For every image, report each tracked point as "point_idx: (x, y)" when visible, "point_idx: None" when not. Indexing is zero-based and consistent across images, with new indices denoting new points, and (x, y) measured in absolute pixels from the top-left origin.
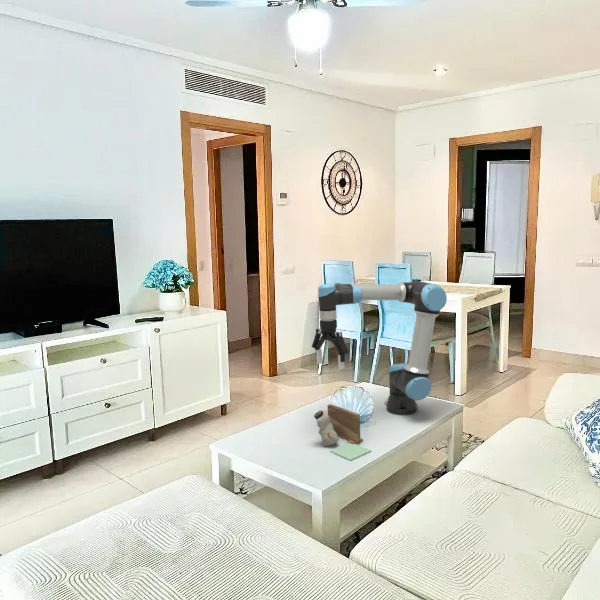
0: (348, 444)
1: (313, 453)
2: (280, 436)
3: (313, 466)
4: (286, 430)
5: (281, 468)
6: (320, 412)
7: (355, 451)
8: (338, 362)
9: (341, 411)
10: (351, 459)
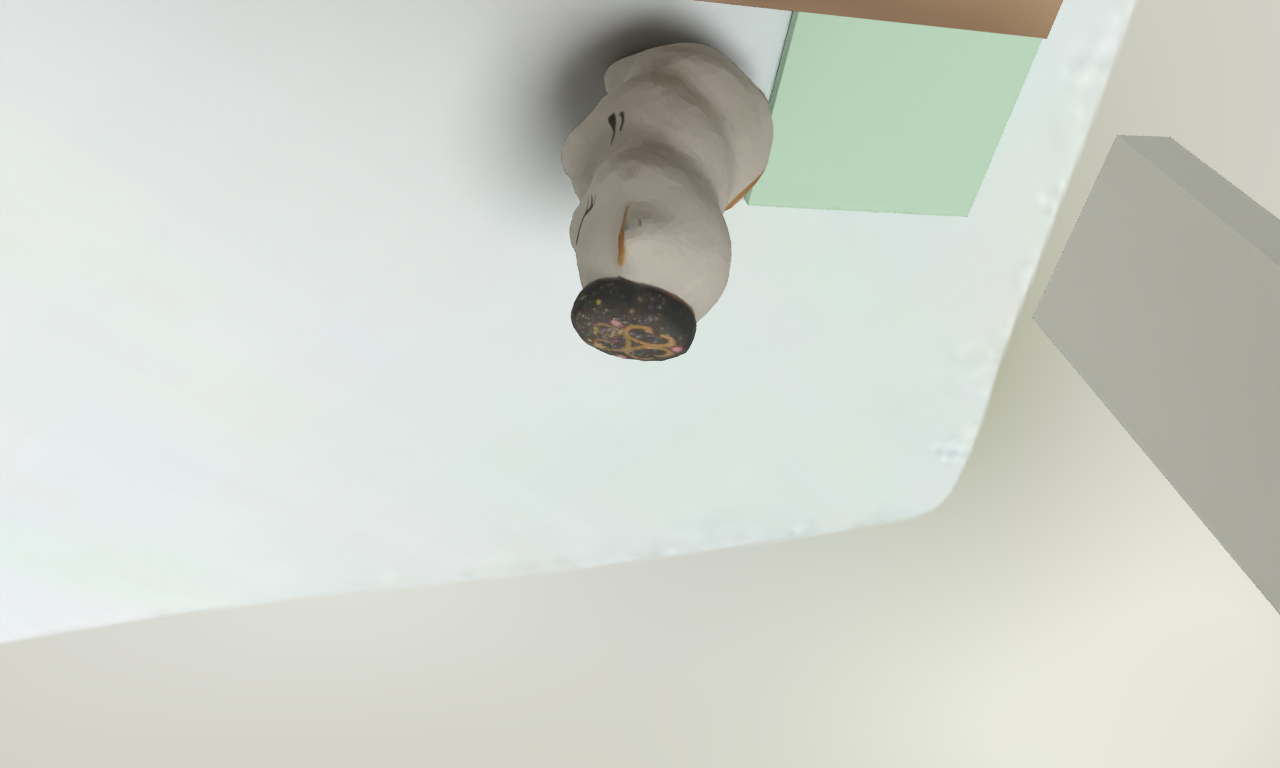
0: None
1: None
2: (133, 261)
3: (768, 408)
4: (15, 126)
5: (615, 529)
6: (676, 348)
7: (946, 84)
8: (1166, 476)
9: (773, 4)
10: (970, 208)
